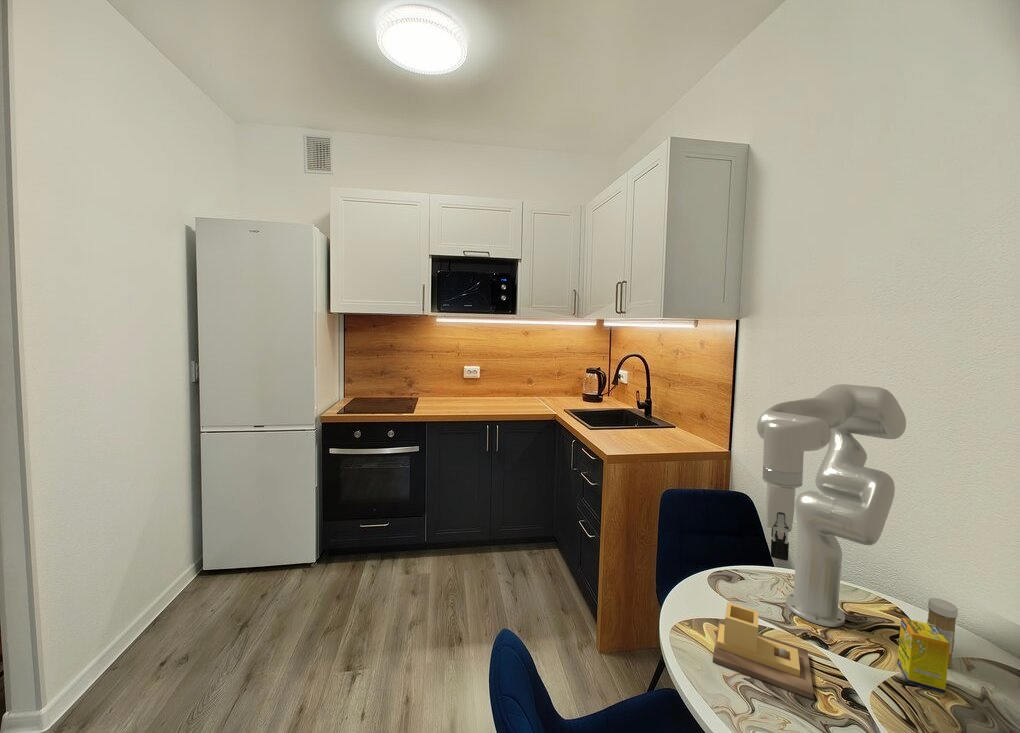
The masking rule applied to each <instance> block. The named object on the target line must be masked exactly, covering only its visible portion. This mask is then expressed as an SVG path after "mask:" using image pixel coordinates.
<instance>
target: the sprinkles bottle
mask: <svg viewBox="0 0 1020 733" xmlns="http://www.w3.org/2000/svg"><path fill="white" fill-rule="evenodd" d="M927 602H928V603H927V608H928V614H927V622H926V623H927V624H932V625H936V626H937V627H938V629H939V630H940V632H941V633H942V634H943V636H944V637H945V638H946V640H947V641H948V642H949V643H950V650H949V660H948V668H952V667H953V656H954V655H953V654H954V651H955V635H956V634H955V633H956V623H957V621H956V619H958V613H959V612H958V611H959V610H958V607H957V606H956V605H955V604H954V603H952V602H950V601H948V600H945V599H942V598H936V597H931V598H929V599H928V600H927Z"/></svg>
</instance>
